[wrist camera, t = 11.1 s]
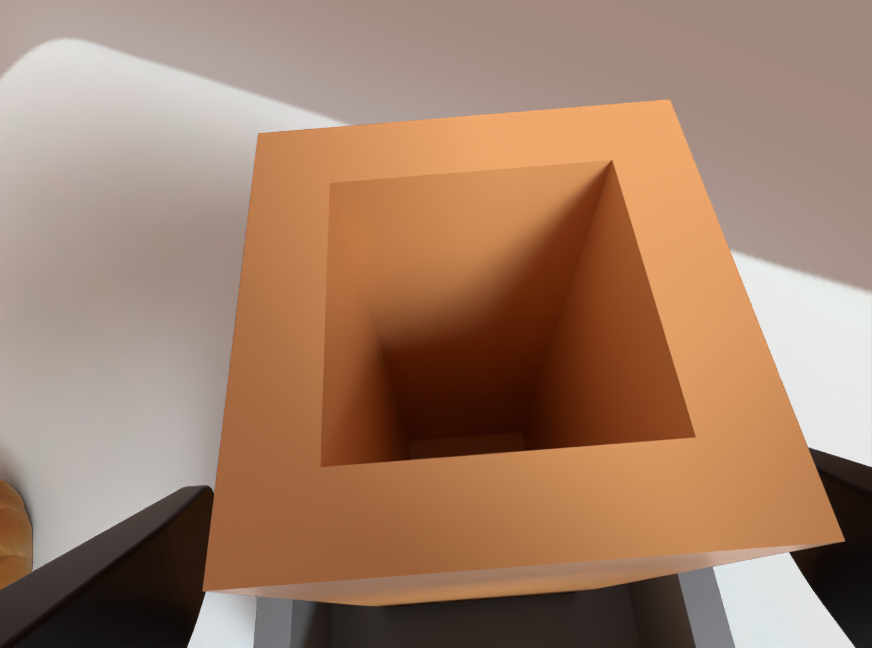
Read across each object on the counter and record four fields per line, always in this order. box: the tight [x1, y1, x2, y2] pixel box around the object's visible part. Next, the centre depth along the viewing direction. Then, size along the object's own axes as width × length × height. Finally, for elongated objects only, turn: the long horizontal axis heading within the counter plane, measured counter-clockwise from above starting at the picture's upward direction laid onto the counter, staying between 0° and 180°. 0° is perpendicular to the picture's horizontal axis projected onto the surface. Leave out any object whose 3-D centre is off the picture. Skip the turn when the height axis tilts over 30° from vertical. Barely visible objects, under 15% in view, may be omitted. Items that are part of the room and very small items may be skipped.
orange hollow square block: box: [203, 100, 845, 607], centre depth 12 cm, size 6×6×12 cm
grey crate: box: [253, 567, 735, 648], centre depth 16 cm, size 10×10×5 cm
